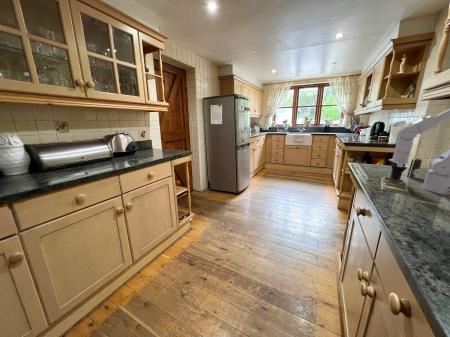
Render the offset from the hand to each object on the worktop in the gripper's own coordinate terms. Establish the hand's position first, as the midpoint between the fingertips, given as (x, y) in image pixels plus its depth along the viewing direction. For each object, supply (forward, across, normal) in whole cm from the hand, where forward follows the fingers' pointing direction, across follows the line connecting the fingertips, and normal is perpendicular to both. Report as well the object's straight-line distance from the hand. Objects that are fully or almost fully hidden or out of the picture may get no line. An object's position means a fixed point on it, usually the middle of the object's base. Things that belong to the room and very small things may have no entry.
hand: (394, 178), depth 96 cm
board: (+3, +6, 0) cm, 7 cm away
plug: (+2, 0, 0) cm, 2 cm away
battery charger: (+4, -22, +9) cm, 24 cm away
